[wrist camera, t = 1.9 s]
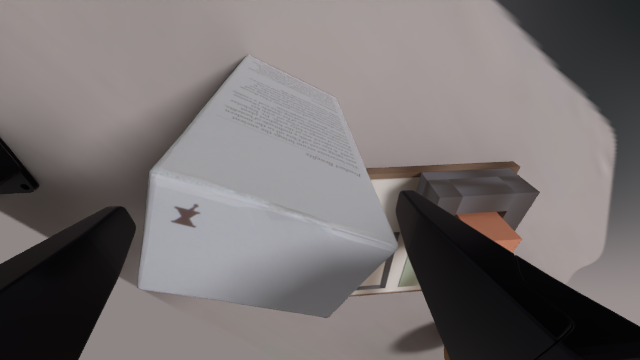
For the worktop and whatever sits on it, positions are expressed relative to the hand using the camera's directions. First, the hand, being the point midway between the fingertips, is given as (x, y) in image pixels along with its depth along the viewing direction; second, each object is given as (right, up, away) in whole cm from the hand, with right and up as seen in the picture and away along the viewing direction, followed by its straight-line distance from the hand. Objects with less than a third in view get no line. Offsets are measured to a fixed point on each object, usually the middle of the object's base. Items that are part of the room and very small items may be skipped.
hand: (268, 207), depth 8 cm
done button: (+13, -2, +11) cm, 17 cm away
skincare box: (-1, +6, +8) cm, 10 cm away
